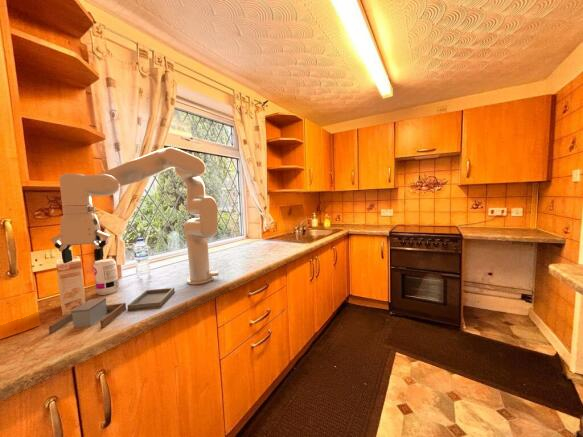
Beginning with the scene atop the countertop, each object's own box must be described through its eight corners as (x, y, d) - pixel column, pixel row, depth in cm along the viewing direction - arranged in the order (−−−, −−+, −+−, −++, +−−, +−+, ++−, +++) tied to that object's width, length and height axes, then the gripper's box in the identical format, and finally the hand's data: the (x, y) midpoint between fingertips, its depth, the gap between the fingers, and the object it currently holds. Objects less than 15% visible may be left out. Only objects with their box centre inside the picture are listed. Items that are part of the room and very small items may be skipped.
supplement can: (94, 297, 105) (90, 263, 104) (99, 291, 112) (95, 260, 111) (117, 293, 109) (113, 260, 107) (120, 287, 116) (117, 257, 115)
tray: (174, 291, 107) (174, 287, 107) (160, 307, 91) (160, 302, 91) (146, 294, 105) (146, 290, 105) (127, 310, 90) (127, 305, 90)
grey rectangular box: (107, 313, 88) (105, 298, 88) (90, 326, 79) (88, 309, 79) (92, 315, 87) (90, 299, 87) (73, 328, 78) (71, 311, 78)
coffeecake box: (87, 309, 92) (81, 260, 91) (61, 316, 87) (55, 264, 86) (84, 299, 103) (78, 255, 101) (61, 305, 98) (55, 258, 96)
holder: (126, 309, 91) (125, 302, 91) (103, 327, 78) (102, 320, 77) (80, 313, 89) (80, 307, 89) (49, 333, 75) (48, 326, 75)
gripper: (113, 209, 85) (117, 256, 86) (58, 211, 83) (64, 260, 84) (99, 210, 78) (104, 261, 79) (39, 212, 75) (45, 265, 76)
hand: (83, 261), depth 81 cm, fingers open, 9 cm apart
